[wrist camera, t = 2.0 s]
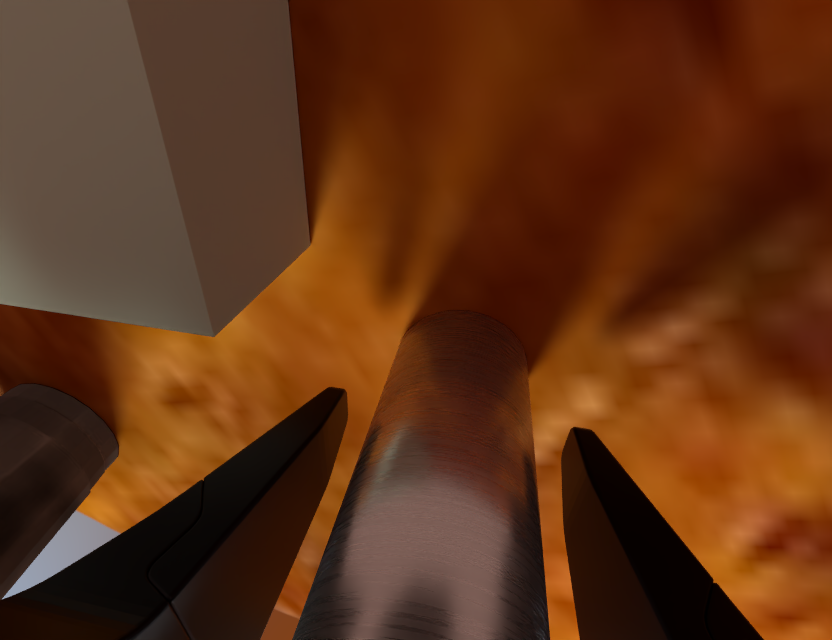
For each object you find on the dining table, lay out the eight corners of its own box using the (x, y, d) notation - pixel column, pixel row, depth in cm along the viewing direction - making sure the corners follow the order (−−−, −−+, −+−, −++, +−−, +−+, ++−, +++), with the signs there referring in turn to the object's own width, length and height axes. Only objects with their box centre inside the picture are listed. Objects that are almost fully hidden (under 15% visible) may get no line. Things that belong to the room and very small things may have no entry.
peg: (539, 320, 10) (616, 839, 3) (513, 422, 12) (528, 883, 5) (399, 301, 10) (216, 727, 4) (395, 402, 12) (269, 806, 6)
